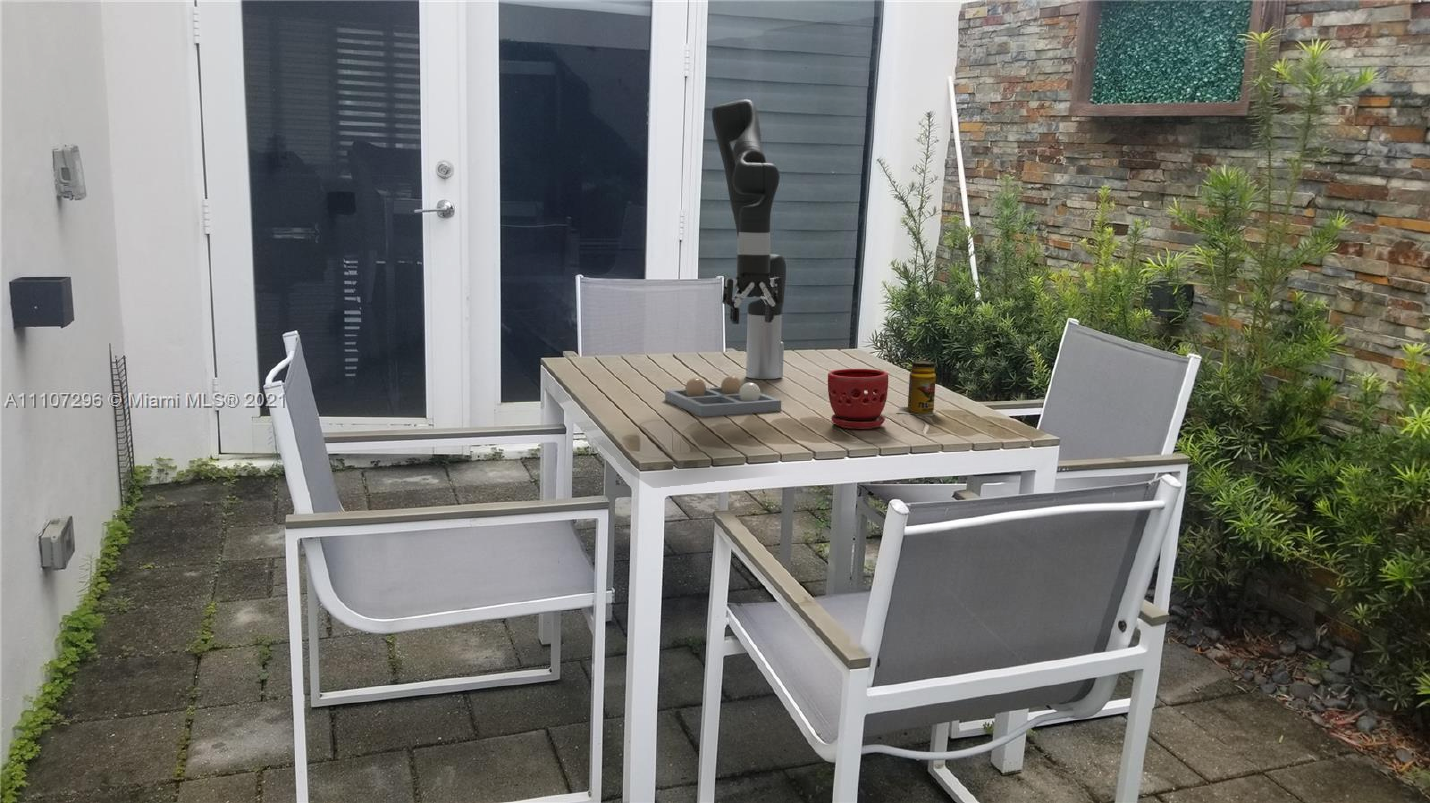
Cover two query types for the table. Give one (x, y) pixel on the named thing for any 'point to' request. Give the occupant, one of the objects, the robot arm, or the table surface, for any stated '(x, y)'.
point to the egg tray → (720, 403)
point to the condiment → (921, 389)
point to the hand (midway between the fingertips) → (751, 323)
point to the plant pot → (858, 397)
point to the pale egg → (749, 392)
